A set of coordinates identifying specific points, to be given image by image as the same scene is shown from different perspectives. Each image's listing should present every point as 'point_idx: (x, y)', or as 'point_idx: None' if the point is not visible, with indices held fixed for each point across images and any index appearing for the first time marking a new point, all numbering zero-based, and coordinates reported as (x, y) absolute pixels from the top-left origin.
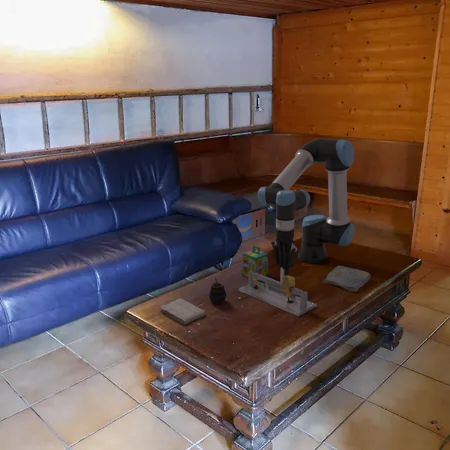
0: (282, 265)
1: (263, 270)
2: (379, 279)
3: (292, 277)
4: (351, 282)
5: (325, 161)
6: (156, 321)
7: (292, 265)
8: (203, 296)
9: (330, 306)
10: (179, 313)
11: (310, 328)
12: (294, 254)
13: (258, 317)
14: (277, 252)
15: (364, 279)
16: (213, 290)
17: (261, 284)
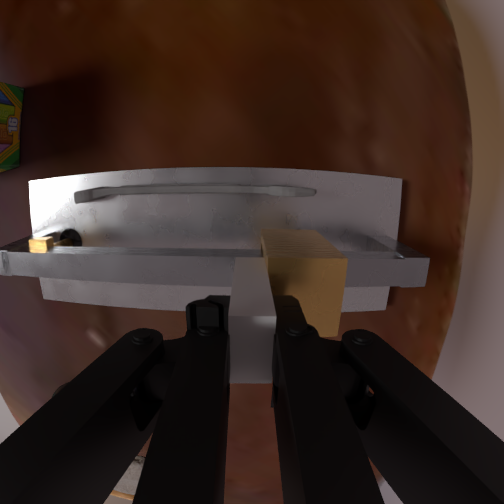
0: (228, 369)
1: (1, 112)
2: None
3: (326, 269)
4: None
5: None
6: (118, 492)
7: (383, 353)
8: (43, 388)
9: (431, 137)
10: (125, 488)
11: (440, 332)
12: (502, 488)
13: (264, 402)
14: (86, 493)
15: None
16: None
17: (61, 194)
